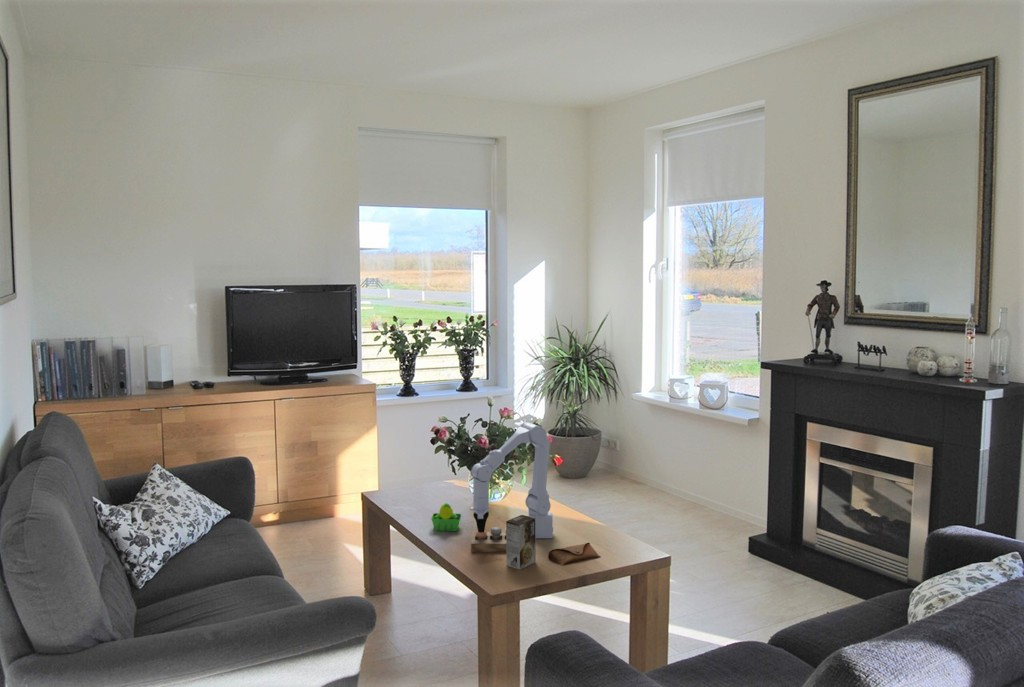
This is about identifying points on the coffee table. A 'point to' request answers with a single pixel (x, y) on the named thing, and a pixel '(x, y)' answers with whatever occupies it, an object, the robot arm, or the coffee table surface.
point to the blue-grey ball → (495, 533)
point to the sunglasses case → (572, 554)
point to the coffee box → (520, 542)
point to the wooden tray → (488, 543)
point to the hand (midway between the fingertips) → (481, 531)
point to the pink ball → (481, 535)
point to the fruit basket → (446, 519)
